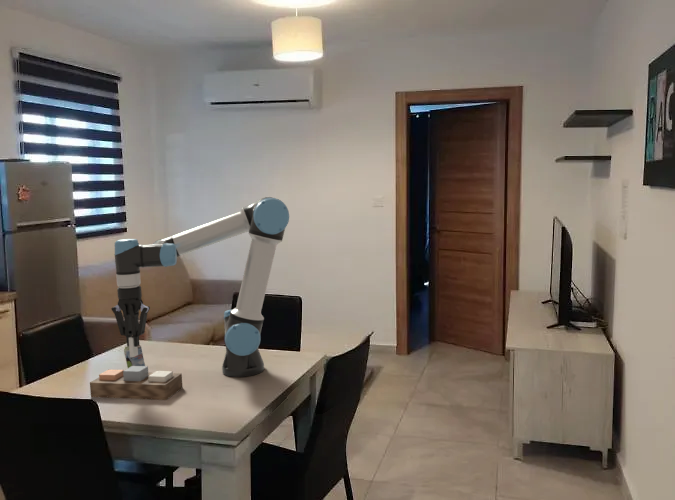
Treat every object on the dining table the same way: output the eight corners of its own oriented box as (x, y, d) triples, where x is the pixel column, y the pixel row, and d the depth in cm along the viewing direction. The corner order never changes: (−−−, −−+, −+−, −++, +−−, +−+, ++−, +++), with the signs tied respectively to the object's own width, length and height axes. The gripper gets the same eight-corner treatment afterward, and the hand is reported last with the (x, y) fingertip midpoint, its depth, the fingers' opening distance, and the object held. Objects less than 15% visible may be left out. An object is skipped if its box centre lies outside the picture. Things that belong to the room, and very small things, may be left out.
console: (182, 387, 217) (181, 373, 216) (166, 400, 205) (165, 385, 204) (111, 385, 222) (109, 371, 222) (91, 397, 211) (89, 382, 210)
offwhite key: (173, 382, 214) (172, 371, 213) (165, 388, 208) (164, 376, 208) (157, 382, 215) (156, 370, 214) (149, 388, 209) (148, 376, 209)
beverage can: (141, 378, 228) (138, 346, 227) (122, 378, 230) (119, 345, 228) (149, 373, 234) (147, 341, 233) (131, 372, 236) (129, 341, 235)
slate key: (148, 377, 215) (147, 366, 215) (140, 383, 210) (139, 371, 209) (133, 377, 217) (132, 365, 216) (124, 382, 211) (123, 371, 210)
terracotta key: (124, 381, 217) (124, 369, 217) (115, 386, 212) (114, 375, 211) (109, 380, 219) (108, 369, 218) (99, 386, 213) (99, 374, 212)
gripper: (152, 284, 212) (157, 353, 214) (117, 284, 214) (122, 352, 217) (141, 288, 204) (146, 359, 207) (104, 288, 207) (110, 358, 210)
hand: (134, 355), depth 212 cm, fingers closed
